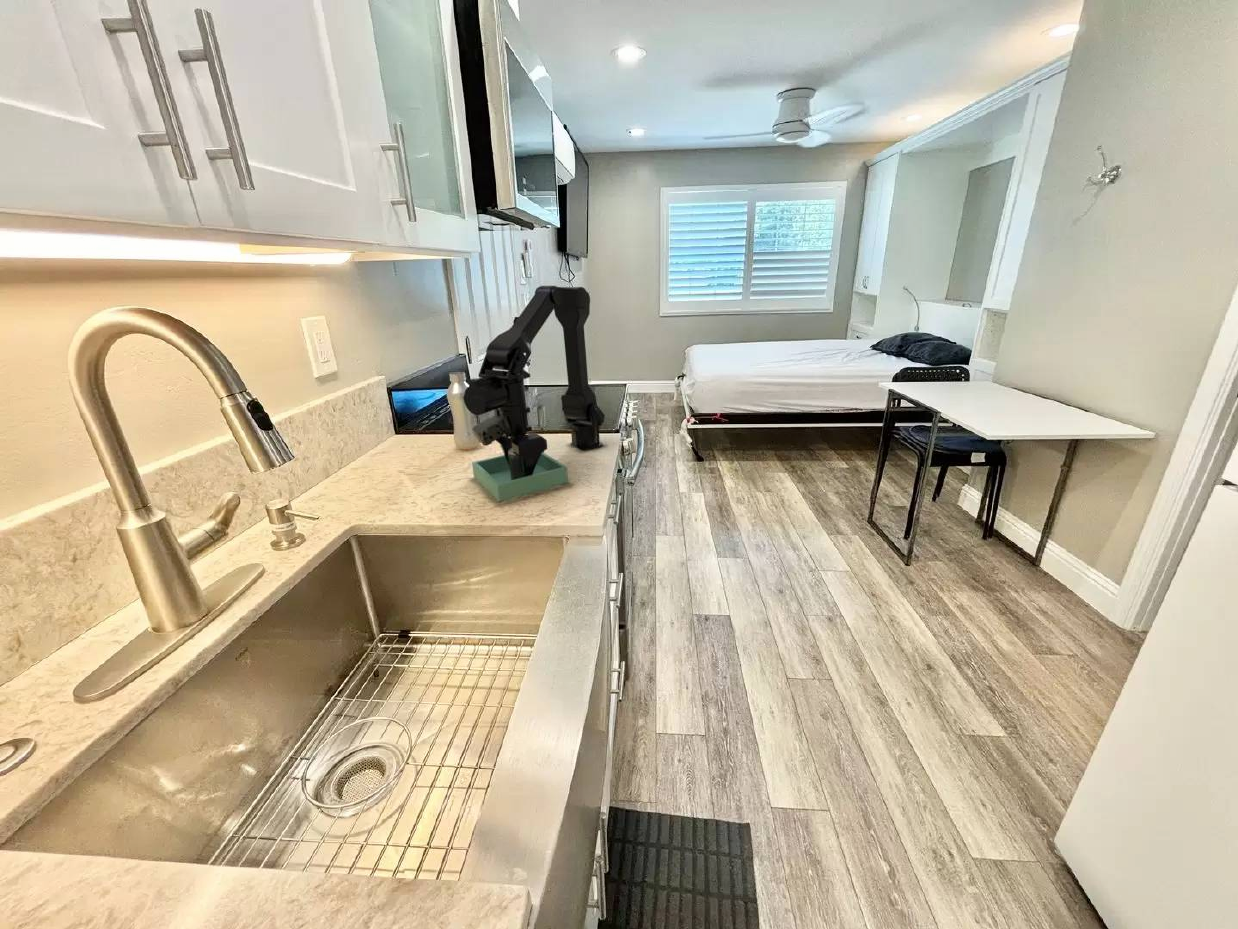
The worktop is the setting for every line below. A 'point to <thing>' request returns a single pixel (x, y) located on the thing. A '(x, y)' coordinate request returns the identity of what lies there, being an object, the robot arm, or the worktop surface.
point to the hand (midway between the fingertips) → (519, 472)
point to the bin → (503, 488)
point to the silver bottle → (461, 413)
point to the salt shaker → (515, 465)
